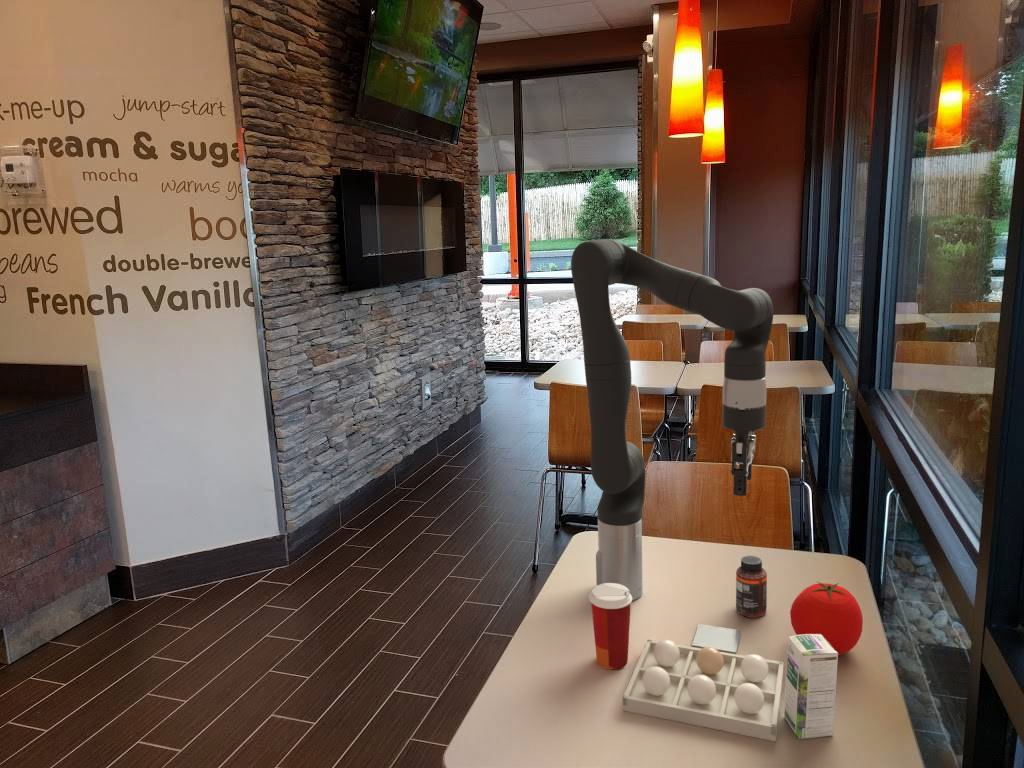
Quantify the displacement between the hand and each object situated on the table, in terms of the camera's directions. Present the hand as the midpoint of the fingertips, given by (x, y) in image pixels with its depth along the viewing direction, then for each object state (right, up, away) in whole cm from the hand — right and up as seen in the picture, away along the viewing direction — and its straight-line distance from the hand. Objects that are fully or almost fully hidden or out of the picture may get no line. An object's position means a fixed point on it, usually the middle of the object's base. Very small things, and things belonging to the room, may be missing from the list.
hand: (742, 486), depth 142 cm
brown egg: (-8, -29, -7) cm, 31 cm away
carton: (-9, -34, -10) cm, 36 cm away
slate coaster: (-3, -30, +5) cm, 31 cm away
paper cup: (-24, -32, 0) cm, 40 cm away
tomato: (+15, -30, +1) cm, 34 cm away
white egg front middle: (-11, -31, -15) cm, 36 cm away
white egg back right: (-1, -30, -10) cm, 31 cm away
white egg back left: (-15, -29, -4) cm, 33 cm away
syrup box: (+4, -35, -20) cm, 41 cm away
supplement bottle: (+6, -27, +15) cm, 32 cm away
